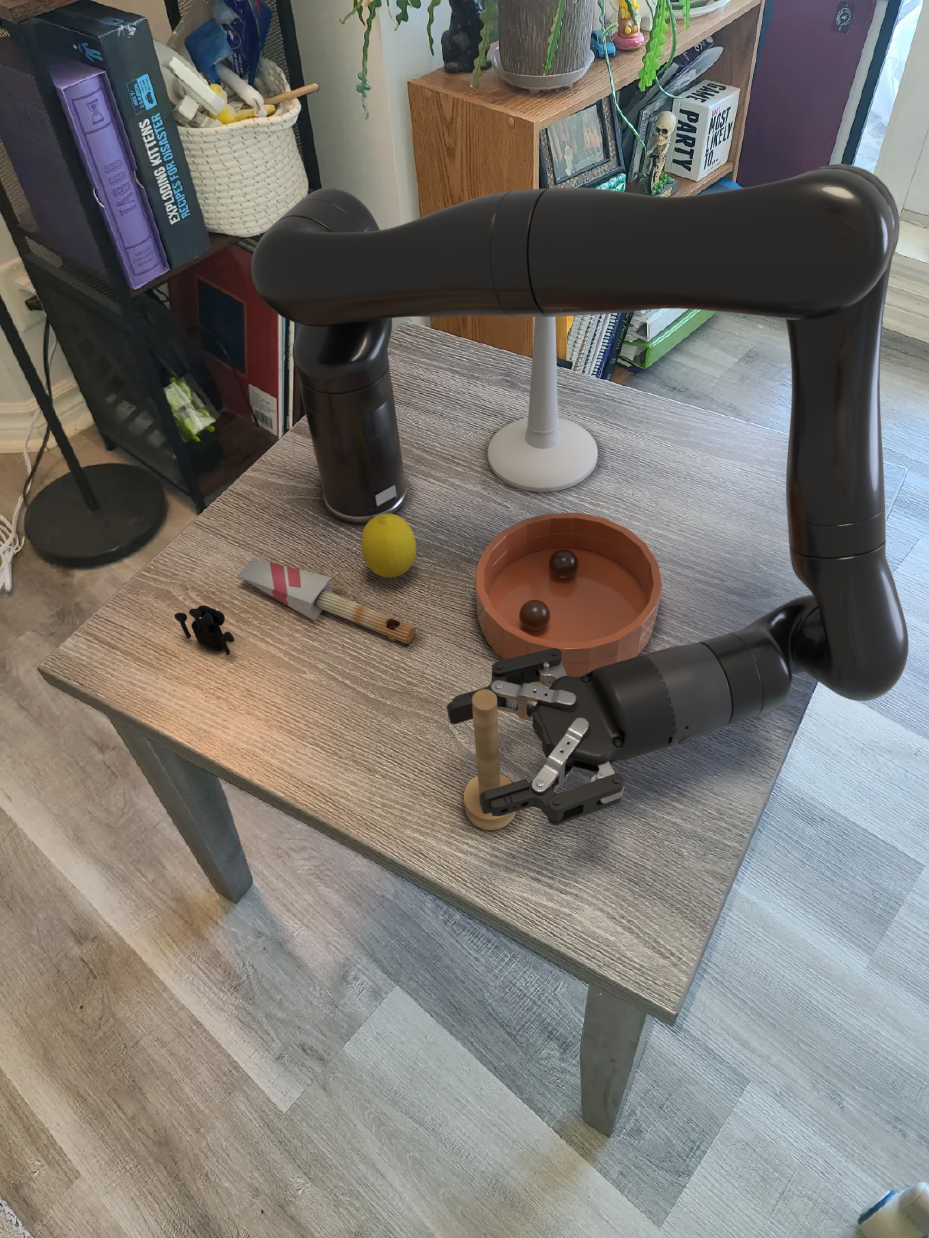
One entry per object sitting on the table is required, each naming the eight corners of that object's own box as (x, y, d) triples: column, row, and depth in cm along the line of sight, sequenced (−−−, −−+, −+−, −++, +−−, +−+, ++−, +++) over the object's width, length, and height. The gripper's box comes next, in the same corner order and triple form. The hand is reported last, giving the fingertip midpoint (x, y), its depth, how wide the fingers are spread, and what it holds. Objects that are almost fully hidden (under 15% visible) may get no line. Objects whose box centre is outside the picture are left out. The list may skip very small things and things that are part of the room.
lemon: (426, 560, 95) (420, 504, 89) (407, 597, 92) (399, 542, 86) (378, 549, 96) (369, 494, 90) (358, 586, 93) (346, 531, 87)
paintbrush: (253, 544, 93) (419, 613, 87) (257, 562, 95) (421, 631, 89) (230, 569, 91) (399, 641, 85) (235, 586, 93) (401, 658, 87)
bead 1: (512, 622, 88) (512, 603, 86) (536, 608, 89) (537, 588, 87) (531, 641, 86) (532, 622, 84) (556, 627, 87) (557, 607, 85)
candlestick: (619, 448, 105) (646, 190, 82) (553, 507, 99) (562, 248, 76) (532, 407, 111) (535, 156, 88) (465, 462, 105) (449, 207, 82)
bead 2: (542, 572, 92) (542, 552, 90) (565, 559, 93) (566, 538, 91) (561, 589, 91) (562, 569, 88) (583, 576, 92) (585, 555, 89)
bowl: (443, 598, 91) (440, 564, 88) (576, 523, 97) (578, 488, 94) (553, 712, 82) (554, 680, 78) (692, 621, 88) (700, 587, 84)
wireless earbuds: (181, 639, 90) (165, 606, 86) (196, 622, 91) (182, 589, 87) (237, 663, 87) (224, 630, 83) (252, 645, 89) (240, 612, 85)
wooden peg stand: (454, 802, 77) (441, 694, 64) (495, 774, 78) (490, 664, 66) (485, 840, 74) (477, 736, 62) (527, 811, 76) (527, 704, 63)
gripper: (625, 605, 73) (434, 658, 70) (707, 747, 64) (492, 814, 62) (617, 660, 79) (441, 712, 76) (692, 798, 70) (495, 861, 67)
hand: (464, 757), depth 69 cm, fingers open, 8 cm apart
